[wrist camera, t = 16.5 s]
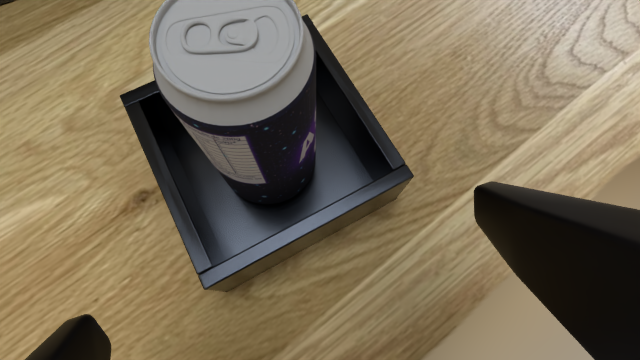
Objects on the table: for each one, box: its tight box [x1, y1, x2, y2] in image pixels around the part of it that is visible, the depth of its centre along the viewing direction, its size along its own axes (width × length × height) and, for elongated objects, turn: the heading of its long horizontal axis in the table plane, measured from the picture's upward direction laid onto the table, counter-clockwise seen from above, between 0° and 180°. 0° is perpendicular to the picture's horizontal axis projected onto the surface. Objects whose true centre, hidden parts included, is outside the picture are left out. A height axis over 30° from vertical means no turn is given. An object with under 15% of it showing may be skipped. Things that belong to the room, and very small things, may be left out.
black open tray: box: [120, 15, 414, 292], centre depth 21 cm, size 12×12×4 cm
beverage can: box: [149, 0, 316, 204], centre depth 17 cm, size 6×6×12 cm
